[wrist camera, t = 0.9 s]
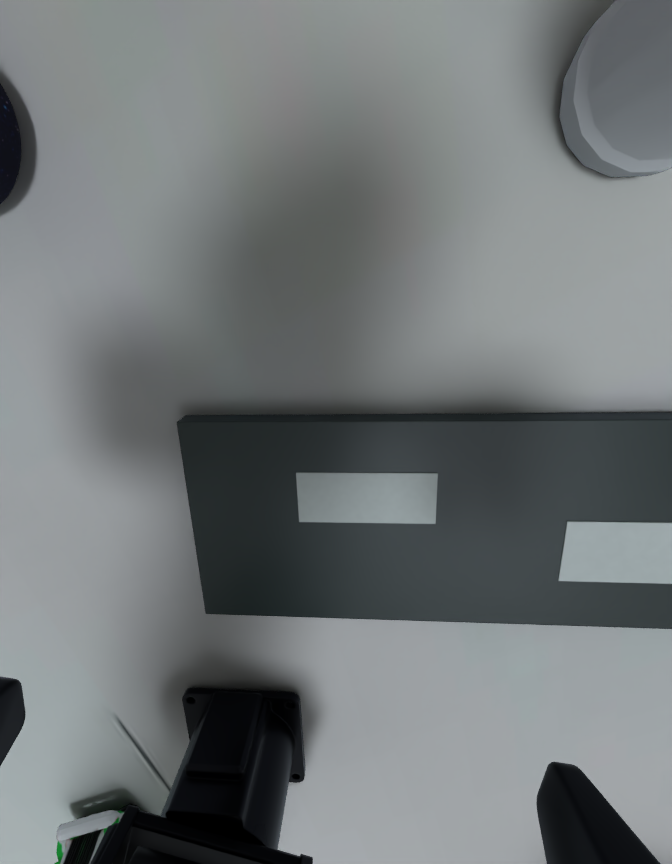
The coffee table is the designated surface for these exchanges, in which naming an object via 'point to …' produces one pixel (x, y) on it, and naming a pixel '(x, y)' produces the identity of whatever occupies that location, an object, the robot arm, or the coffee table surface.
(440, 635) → the coffee table surface
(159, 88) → the coffee table surface
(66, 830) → the toy car
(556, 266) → the coffee table surface
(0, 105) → the beverage can
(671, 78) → the bottle
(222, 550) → the slate board
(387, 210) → the coffee table surface
